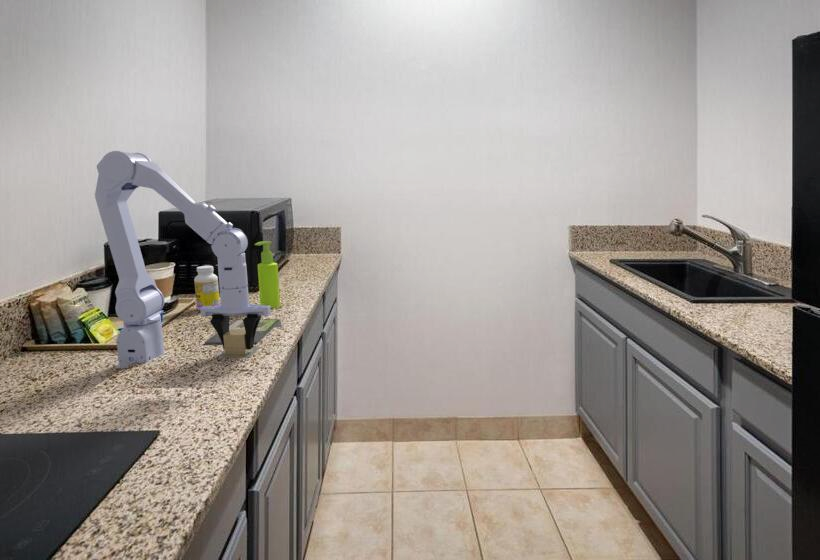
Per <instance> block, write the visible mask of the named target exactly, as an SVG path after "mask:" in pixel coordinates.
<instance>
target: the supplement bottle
mask: <svg viewBox="0 0 820 560" xmlns="http://www.w3.org/2000/svg"><path fill="white" fill-rule="evenodd" d="M196 272H197V275H196V276H195V277H194V279H193V281H194V282H193V283H194V289H195V290H194V292H195V302H196V309H197V310H198V311H200V308H202V307H203V306H215V305H221V299H220V287H219V276H217V275H216V274H215V273H214V266H213V265H201V266H197V267H196Z"/></svg>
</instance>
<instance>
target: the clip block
mask: <svg viewBox="0 0 820 560" xmlns="http://www.w3.org/2000/svg"><path fill="white" fill-rule="evenodd" d="M223 338H224V348H223V351H225V356H239V355H247V354H248V353H249V352H250V351H251V350H252V349H253V348H252V349H247V344H246V331H245V328H237V329H231V330H229V331H228V332H227V333H225V334H224V335H223Z"/></svg>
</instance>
